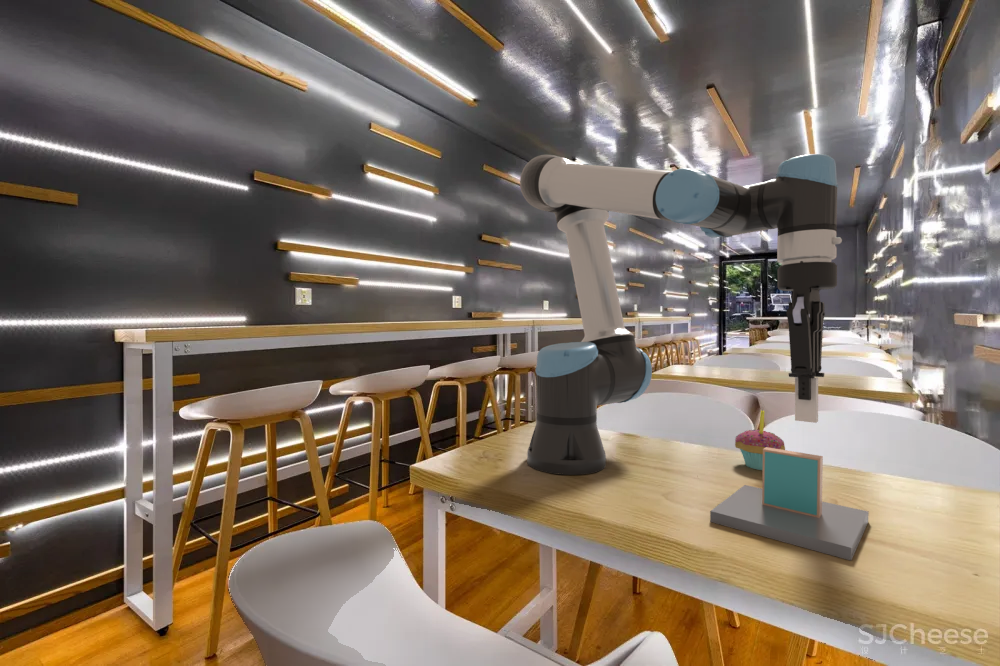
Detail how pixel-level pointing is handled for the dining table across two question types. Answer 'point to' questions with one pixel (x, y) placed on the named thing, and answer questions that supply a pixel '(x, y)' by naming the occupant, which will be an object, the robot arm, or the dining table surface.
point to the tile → (792, 481)
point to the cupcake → (757, 444)
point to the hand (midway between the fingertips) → (806, 420)
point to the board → (794, 523)
